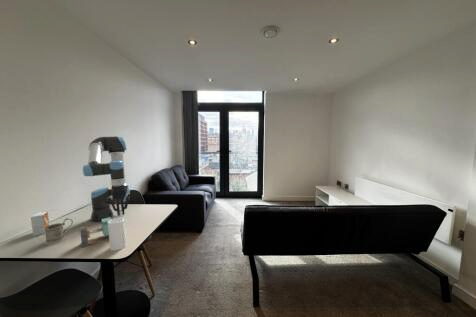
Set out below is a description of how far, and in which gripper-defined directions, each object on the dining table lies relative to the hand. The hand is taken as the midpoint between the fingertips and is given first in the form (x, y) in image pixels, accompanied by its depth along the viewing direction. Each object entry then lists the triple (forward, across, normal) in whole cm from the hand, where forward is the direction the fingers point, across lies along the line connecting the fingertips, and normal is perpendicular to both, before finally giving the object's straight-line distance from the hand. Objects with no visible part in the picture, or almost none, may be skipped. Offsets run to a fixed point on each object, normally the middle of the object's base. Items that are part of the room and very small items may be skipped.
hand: (121, 220), depth 134 cm
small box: (+10, -41, +41) cm, 59 cm away
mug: (+10, -31, +19) cm, 38 cm away
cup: (+10, -5, -16) cm, 20 cm away
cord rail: (+9, -12, 0) cm, 15 cm away
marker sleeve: (+6, -8, 0) cm, 10 cm away
